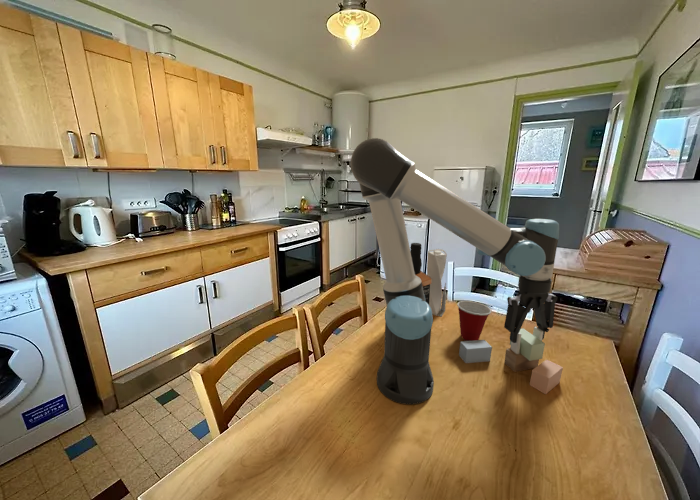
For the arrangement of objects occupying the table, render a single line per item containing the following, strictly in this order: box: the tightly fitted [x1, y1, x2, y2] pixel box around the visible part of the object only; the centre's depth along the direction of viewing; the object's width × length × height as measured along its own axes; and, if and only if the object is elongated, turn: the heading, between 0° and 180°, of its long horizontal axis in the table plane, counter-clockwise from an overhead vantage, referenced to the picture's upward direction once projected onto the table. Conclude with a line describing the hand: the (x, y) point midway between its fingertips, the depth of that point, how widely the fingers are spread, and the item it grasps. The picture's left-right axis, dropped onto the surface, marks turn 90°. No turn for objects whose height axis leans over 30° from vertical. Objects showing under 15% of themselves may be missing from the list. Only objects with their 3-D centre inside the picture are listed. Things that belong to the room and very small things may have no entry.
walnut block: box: [504, 347, 540, 372], centre depth 84 cm, size 8×4×5 cm, turn 102°
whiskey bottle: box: [409, 242, 432, 304], centre depth 103 cm, size 10×10×32 cm
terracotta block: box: [529, 359, 564, 395], centre depth 77 cm, size 8×4×5 cm, turn 123°
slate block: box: [458, 339, 493, 364], centre depth 88 cm, size 8×4×5 cm, turn 97°
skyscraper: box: [426, 248, 448, 318], centre depth 115 cm, size 8×8×28 cm
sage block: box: [509, 327, 545, 361], centre depth 83 cm, size 8×4×5 cm, turn 9°
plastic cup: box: [457, 300, 492, 341], centre depth 98 cm, size 11×11×12 cm
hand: (525, 349), depth 84 cm, fingers open, 6 cm apart
